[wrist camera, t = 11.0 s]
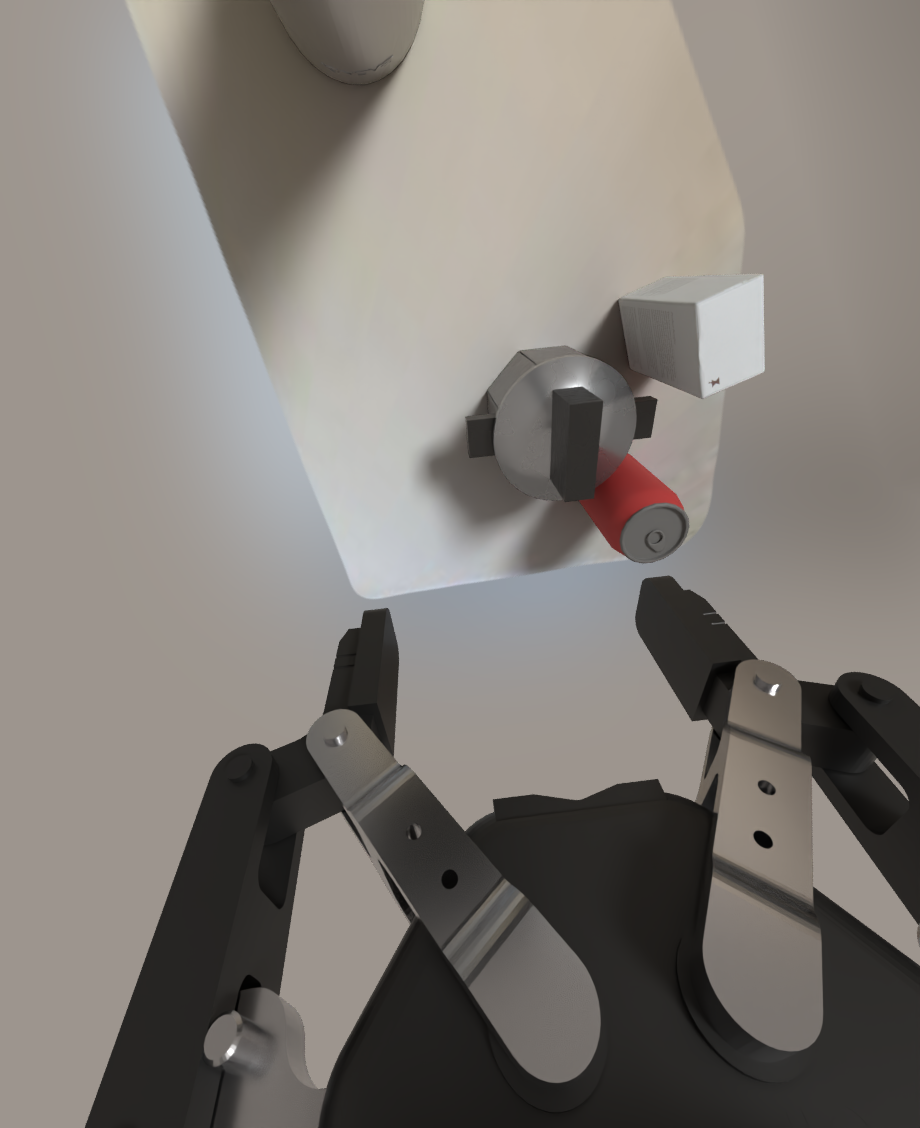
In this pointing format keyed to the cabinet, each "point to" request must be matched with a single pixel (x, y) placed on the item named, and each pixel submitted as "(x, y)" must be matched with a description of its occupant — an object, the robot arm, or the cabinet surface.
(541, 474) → the lid
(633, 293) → the skincare box
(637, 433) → the pot
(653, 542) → the beer can
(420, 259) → the cabinet surface
